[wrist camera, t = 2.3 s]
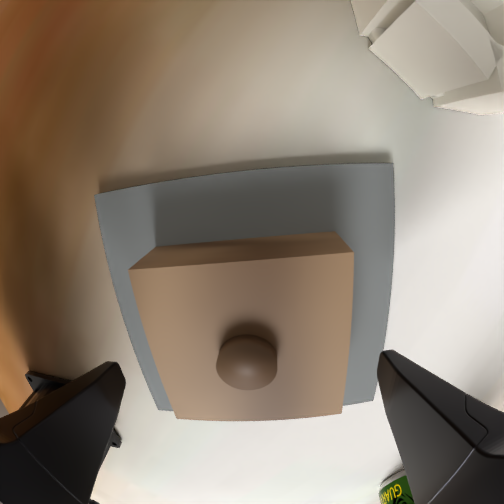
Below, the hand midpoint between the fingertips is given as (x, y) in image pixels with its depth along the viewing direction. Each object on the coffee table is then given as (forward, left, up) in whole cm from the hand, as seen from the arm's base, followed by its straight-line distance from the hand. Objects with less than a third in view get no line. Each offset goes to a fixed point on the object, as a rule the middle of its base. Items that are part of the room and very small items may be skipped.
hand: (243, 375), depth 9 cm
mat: (0, 0, -4) cm, 4 cm away
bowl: (+10, +13, -4) cm, 17 cm away
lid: (0, 0, -3) cm, 3 cm away
